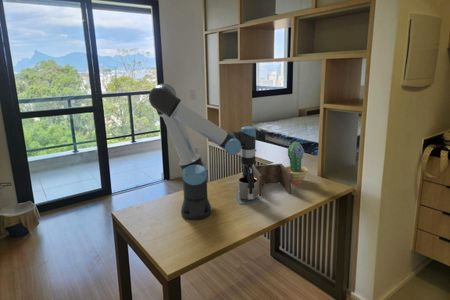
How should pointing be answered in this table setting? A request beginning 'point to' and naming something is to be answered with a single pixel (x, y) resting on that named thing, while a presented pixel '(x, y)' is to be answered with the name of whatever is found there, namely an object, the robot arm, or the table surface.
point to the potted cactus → (296, 163)
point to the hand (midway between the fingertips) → (248, 194)
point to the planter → (244, 190)
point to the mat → (243, 201)
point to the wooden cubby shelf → (272, 176)
